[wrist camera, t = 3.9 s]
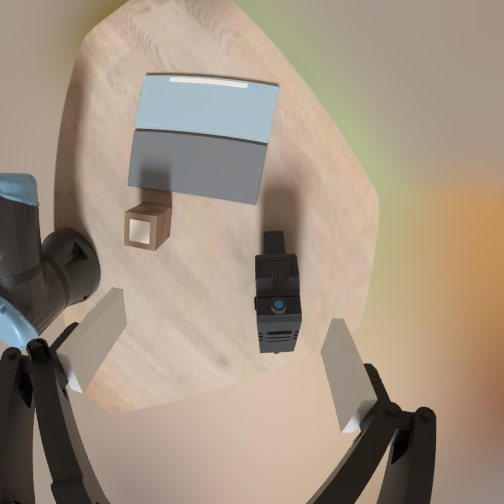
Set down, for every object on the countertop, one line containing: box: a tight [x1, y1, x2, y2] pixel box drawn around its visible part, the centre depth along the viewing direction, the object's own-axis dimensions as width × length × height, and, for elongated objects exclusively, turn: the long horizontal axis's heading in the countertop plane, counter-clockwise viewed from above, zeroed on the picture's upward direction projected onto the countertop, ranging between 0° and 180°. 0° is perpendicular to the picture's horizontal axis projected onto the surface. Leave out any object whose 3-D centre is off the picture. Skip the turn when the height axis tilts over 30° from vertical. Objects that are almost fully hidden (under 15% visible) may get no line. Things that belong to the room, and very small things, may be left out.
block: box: [124, 202, 172, 251], centre depth 39 cm, size 5×5×7 cm
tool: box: [254, 231, 302, 354], centre depth 41 cm, size 6×19×15 cm, turn 3°
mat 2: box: [128, 131, 267, 205], centre depth 39 cm, size 21×9×1 cm, turn 80°
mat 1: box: [135, 75, 279, 143], centre depth 35 cm, size 21×9×1 cm, turn 80°
